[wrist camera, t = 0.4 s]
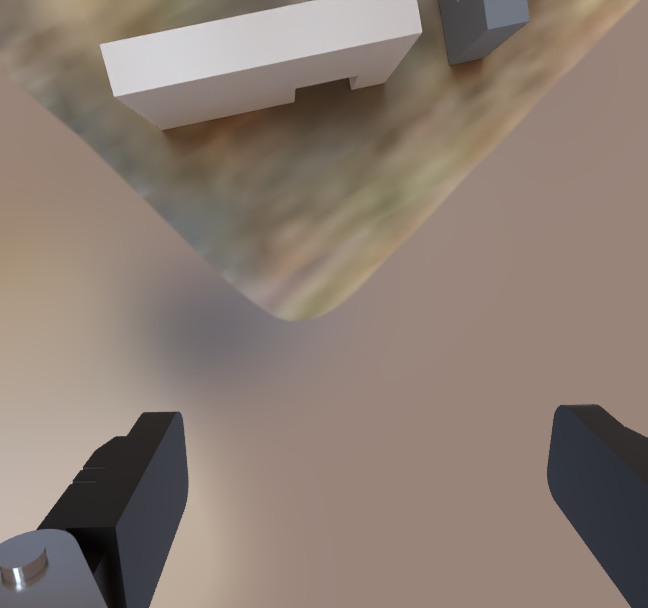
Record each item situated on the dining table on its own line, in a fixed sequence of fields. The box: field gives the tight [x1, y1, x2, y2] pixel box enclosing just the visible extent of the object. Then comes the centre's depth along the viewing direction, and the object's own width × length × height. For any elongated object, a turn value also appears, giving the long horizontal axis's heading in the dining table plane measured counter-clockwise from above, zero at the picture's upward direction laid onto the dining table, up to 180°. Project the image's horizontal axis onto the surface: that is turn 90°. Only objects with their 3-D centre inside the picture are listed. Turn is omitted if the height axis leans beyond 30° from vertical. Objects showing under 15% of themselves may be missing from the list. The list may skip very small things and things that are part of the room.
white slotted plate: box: [100, 0, 422, 130], centre depth 30 cm, size 16×2×10 cm, turn 102°
